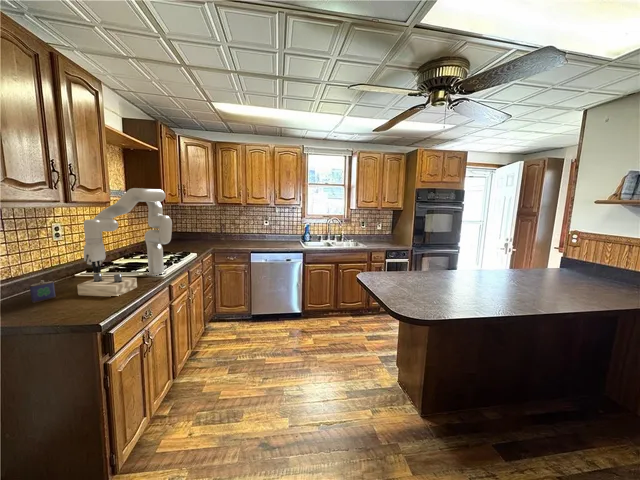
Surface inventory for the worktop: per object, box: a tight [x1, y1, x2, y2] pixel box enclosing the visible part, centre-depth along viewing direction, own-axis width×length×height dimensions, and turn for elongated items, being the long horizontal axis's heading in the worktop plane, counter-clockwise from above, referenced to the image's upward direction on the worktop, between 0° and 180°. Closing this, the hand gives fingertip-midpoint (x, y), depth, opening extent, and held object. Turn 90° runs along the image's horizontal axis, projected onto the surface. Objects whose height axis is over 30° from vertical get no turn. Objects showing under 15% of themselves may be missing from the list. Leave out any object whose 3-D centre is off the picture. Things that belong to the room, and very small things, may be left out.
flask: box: [29, 279, 56, 303], centre depth 143 cm, size 9×3×11 cm, turn 152°
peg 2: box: [113, 273, 123, 283], centre depth 157 cm, size 4×4×6 cm
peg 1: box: [92, 272, 103, 282], centre depth 158 cm, size 4×4×6 cm
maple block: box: [77, 276, 138, 297], centre depth 158 cm, size 16×22×6 cm
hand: (97, 272), depth 157 cm, fingers closed
